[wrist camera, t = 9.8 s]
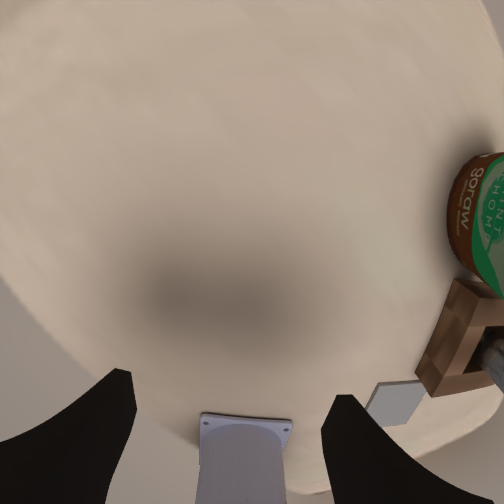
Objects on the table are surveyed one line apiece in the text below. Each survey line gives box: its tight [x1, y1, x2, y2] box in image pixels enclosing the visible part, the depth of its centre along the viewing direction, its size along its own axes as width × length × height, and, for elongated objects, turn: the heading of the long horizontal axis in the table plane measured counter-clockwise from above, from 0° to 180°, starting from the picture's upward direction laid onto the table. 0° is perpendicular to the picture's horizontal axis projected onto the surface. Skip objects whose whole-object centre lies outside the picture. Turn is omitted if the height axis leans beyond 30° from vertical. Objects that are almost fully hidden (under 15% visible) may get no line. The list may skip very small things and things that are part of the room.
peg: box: [471, 326, 504, 393], centre depth 16 cm, size 3×3×9 cm
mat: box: [365, 380, 426, 427], centre depth 22 cm, size 6×6×1 cm
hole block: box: [415, 279, 504, 398], centre depth 18 cm, size 9×9×4 cm
